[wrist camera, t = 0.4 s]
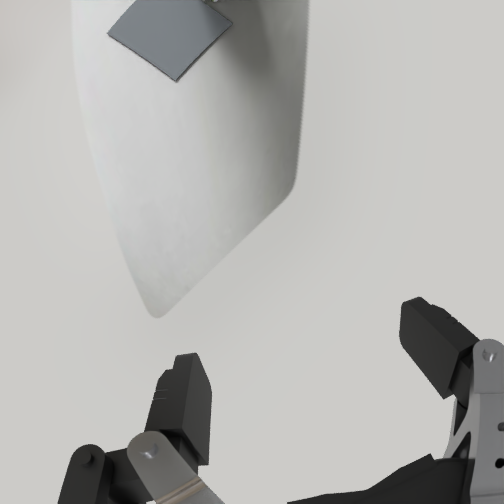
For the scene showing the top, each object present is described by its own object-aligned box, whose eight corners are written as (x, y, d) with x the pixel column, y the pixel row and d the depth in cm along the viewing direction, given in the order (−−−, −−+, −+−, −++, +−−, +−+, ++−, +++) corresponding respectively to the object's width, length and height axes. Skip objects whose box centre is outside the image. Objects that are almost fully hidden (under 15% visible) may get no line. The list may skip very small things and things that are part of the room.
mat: (107, 33, 23) (106, 33, 22) (162, -23, 19) (161, -24, 19) (175, 80, 28) (175, 80, 28) (232, 24, 25) (232, 23, 25)
